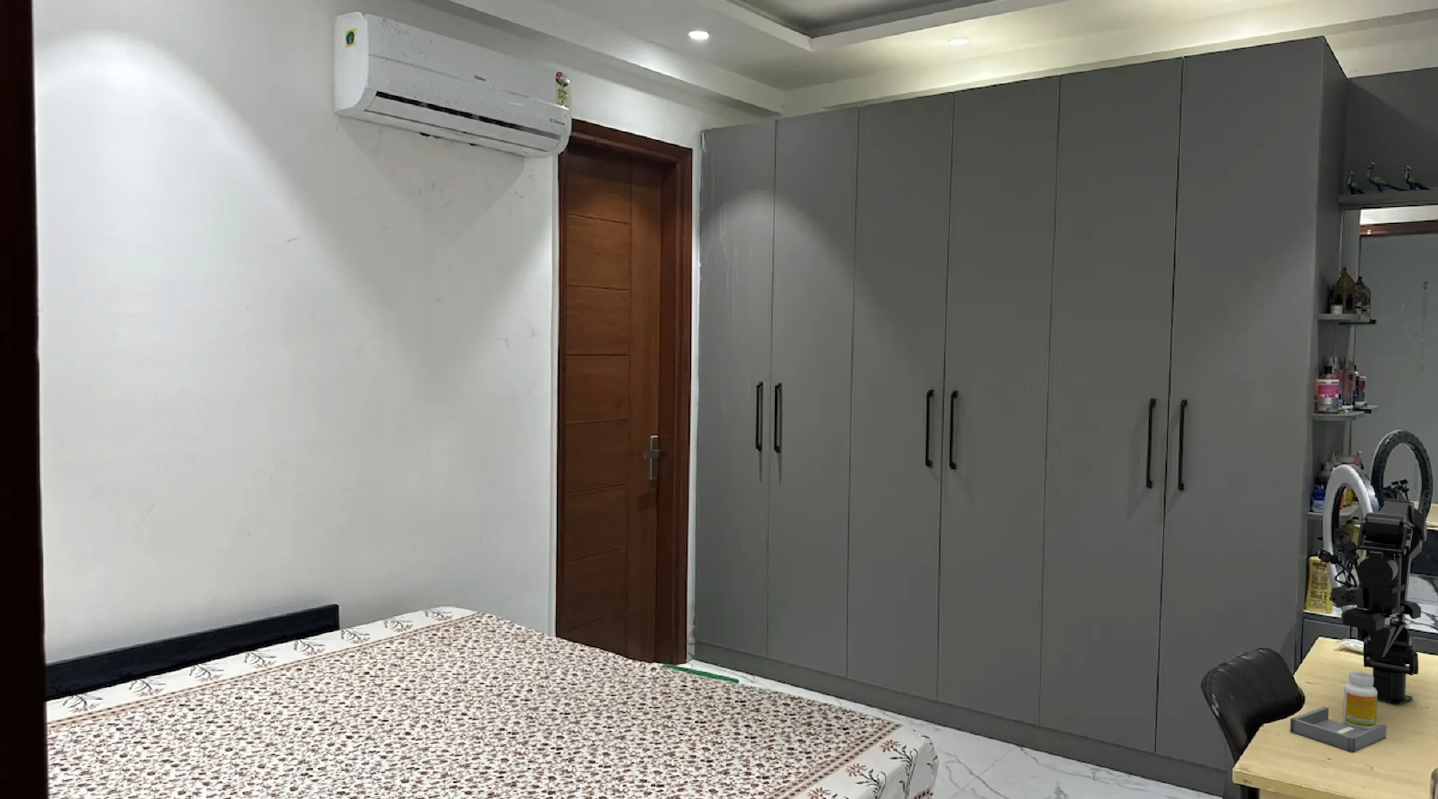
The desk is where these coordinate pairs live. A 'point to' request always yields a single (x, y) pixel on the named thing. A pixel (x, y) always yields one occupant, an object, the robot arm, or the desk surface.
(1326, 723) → the tray
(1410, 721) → the desk surface
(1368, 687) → the supplement bottle
